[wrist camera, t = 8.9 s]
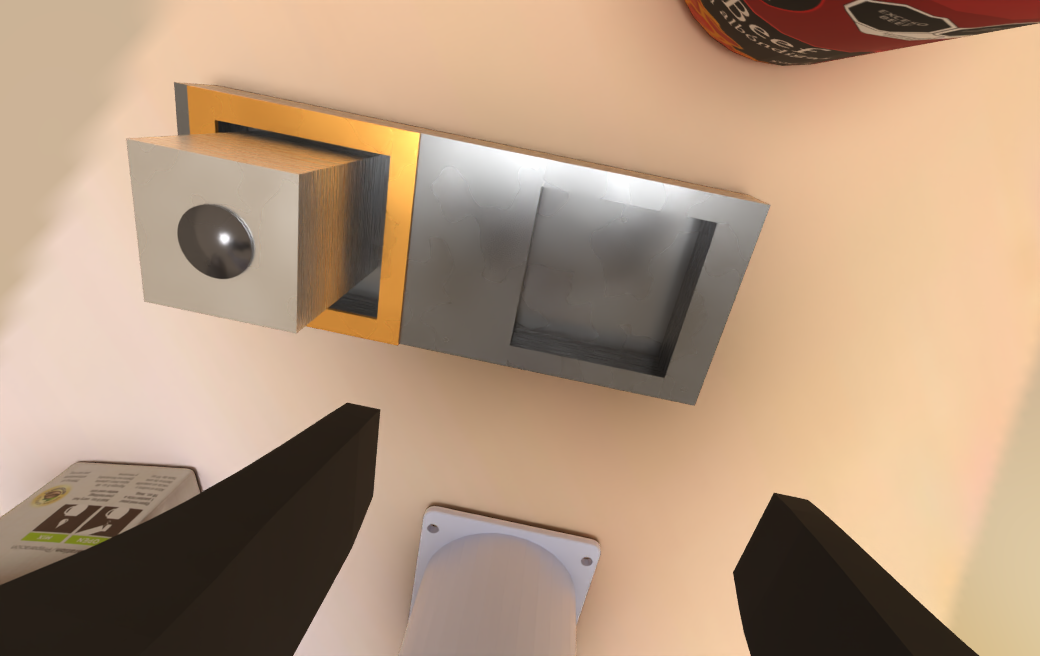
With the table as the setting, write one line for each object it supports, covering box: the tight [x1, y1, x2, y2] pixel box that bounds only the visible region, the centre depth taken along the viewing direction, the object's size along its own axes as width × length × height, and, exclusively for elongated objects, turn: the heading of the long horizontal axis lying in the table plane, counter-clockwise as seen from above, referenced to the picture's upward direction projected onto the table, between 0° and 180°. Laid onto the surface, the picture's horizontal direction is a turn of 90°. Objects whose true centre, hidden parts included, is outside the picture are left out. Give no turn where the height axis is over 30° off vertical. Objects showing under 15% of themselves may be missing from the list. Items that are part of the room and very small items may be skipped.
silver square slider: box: [126, 130, 386, 333], centre depth 15 cm, size 4×4×6 cm
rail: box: [174, 82, 770, 406], centre depth 17 cm, size 7×18×2 cm, turn 79°
